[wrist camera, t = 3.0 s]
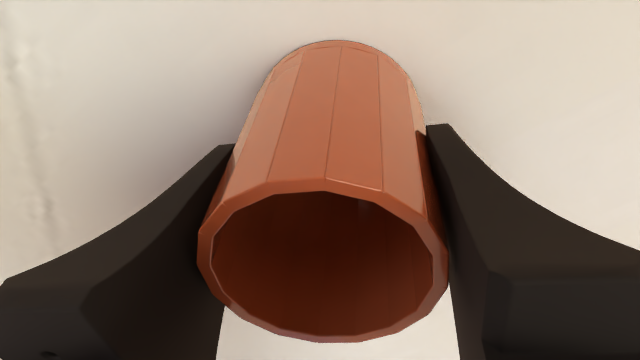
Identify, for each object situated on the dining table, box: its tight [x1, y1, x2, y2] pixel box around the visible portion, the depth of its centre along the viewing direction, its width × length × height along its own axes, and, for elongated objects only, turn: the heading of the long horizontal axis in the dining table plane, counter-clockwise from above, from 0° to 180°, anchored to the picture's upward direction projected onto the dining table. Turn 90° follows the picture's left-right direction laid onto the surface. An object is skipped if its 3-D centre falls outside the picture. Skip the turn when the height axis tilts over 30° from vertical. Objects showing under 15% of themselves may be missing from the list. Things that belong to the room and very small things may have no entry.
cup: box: [196, 40, 449, 343], centre depth 12 cm, size 6×6×7 cm
